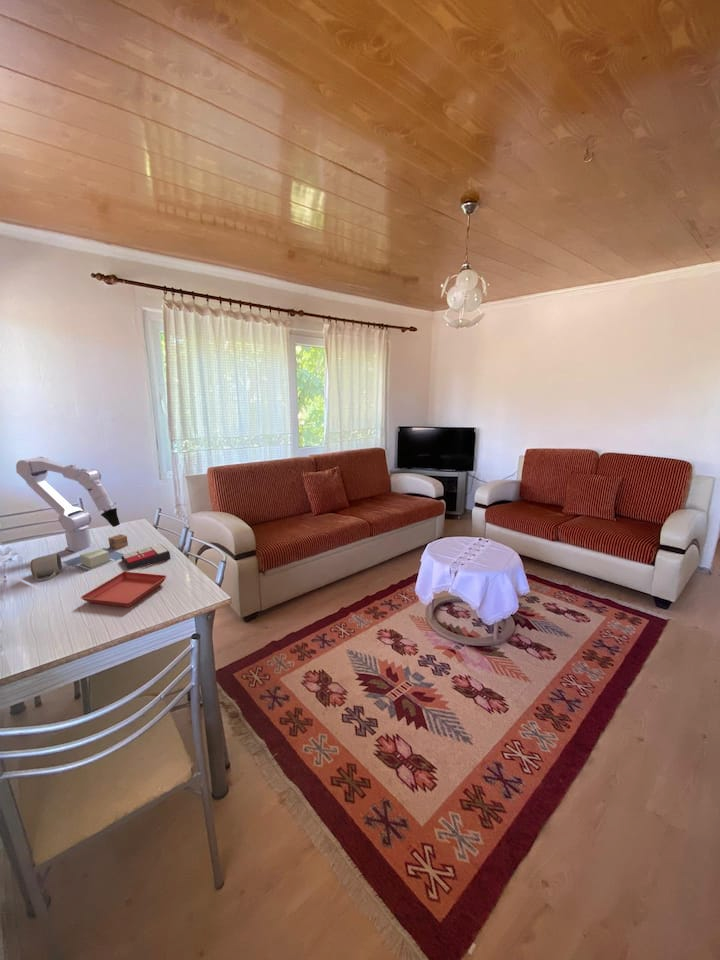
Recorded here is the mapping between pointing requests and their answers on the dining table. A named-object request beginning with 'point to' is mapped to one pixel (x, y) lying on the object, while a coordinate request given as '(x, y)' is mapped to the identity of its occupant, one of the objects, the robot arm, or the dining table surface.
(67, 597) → the dining table surface
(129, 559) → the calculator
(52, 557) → the ceramic mug
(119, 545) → the walnut block
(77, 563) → the board
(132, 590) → the plant saucer
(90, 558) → the sage base block
